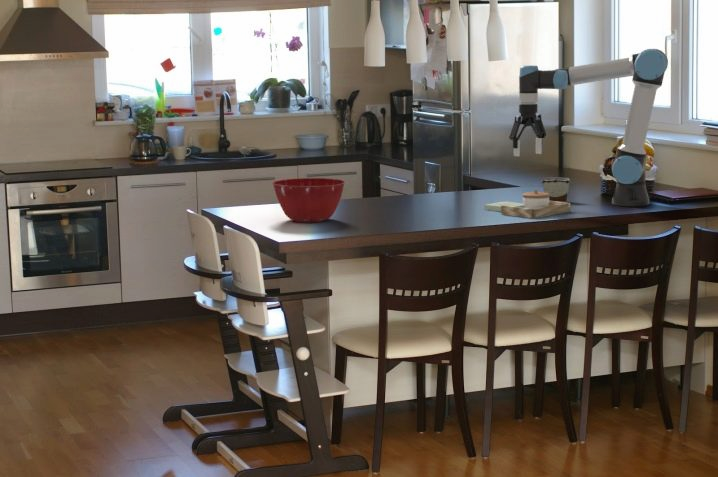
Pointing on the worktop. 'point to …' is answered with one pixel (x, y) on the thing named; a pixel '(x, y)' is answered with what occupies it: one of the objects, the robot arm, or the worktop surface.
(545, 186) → the food container
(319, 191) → the mixing bowl
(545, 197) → the lidded jar
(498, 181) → the worktop surface
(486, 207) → the trivet
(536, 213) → the cradle
